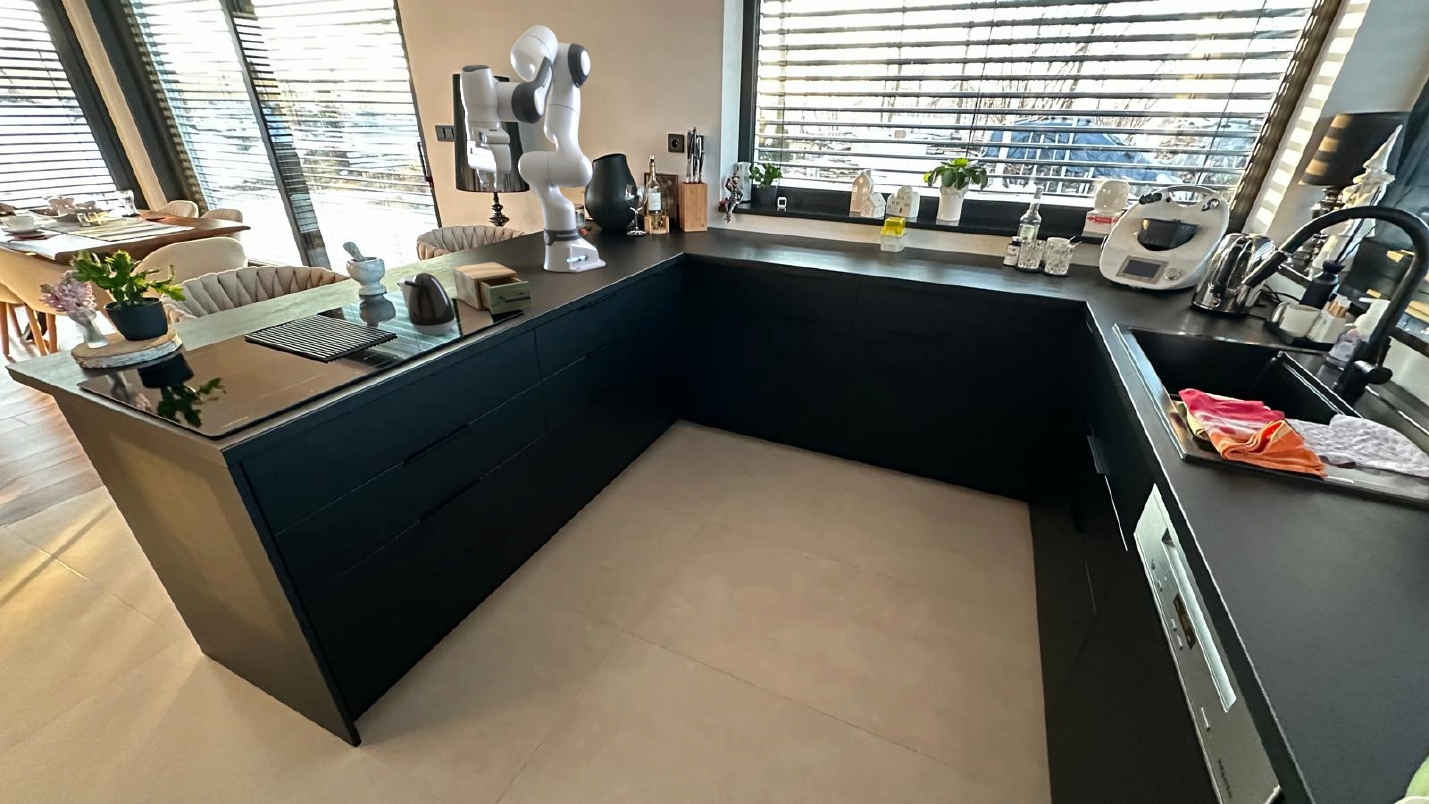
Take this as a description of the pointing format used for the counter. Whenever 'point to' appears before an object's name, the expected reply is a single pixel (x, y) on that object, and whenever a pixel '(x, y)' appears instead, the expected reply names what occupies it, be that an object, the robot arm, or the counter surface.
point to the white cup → (406, 290)
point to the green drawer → (504, 294)
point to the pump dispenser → (429, 305)
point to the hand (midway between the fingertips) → (492, 188)
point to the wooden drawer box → (473, 273)
